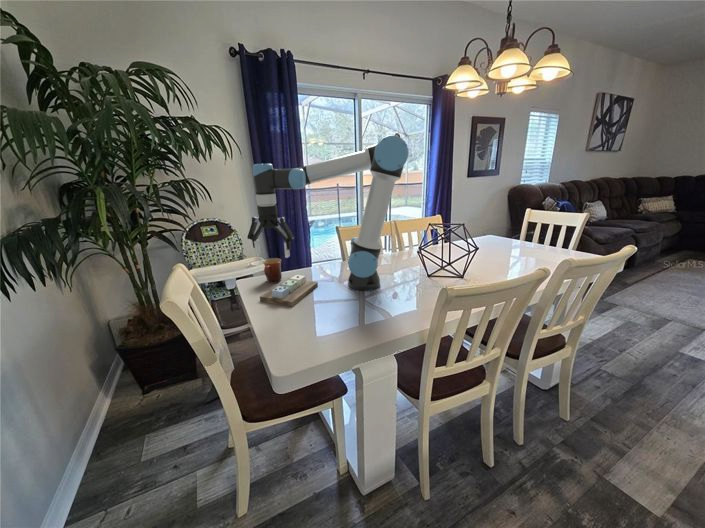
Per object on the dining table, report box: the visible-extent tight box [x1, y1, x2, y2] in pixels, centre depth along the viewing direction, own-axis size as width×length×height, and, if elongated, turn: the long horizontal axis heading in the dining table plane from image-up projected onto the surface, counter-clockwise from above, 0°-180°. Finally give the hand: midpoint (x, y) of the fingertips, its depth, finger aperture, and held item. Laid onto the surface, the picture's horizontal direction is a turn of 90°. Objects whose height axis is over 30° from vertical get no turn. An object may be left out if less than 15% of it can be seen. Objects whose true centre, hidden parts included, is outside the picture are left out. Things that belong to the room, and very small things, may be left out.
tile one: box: [290, 274, 307, 286], centre depth 134 cm, size 5×5×4 cm
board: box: [259, 278, 319, 307], centre depth 128 cm, size 16×22×2 cm
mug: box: [262, 257, 282, 283], centre depth 140 cm, size 12×9×10 cm
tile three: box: [272, 286, 289, 299], centre depth 121 cm, size 5×5×4 cm
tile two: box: [282, 279, 298, 292], centre depth 128 cm, size 5×5×4 cm
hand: (272, 256), depth 120 cm, fingers open, 13 cm apart
